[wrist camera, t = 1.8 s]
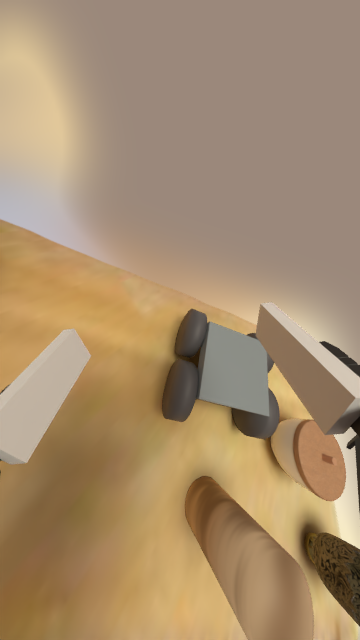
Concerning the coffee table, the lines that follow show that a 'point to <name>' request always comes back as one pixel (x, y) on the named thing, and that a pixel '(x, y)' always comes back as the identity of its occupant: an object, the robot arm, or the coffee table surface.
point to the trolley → (222, 376)
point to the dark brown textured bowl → (337, 569)
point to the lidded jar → (310, 457)
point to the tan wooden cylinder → (250, 566)
